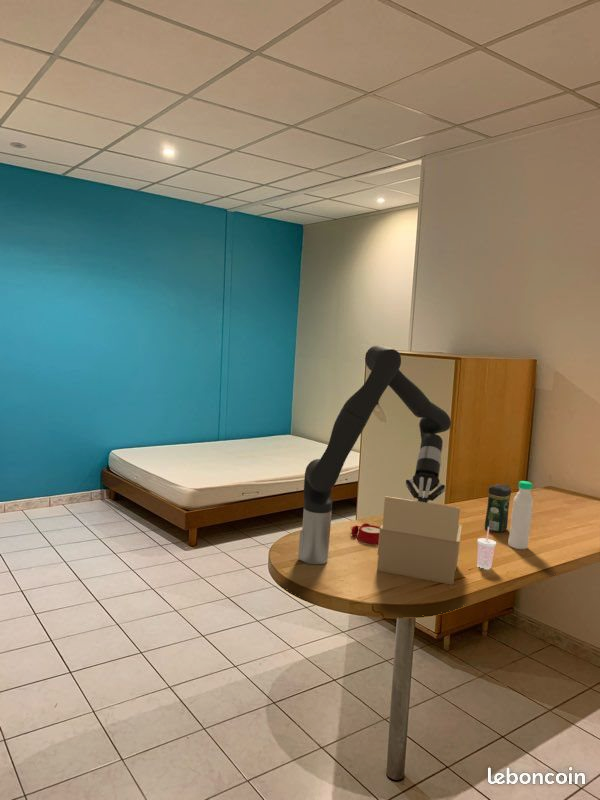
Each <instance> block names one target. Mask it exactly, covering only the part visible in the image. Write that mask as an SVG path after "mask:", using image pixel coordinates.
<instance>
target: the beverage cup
mask: <svg viewBox="0 0 600 800" xmlns="http://www.w3.org/2000/svg"><path fill="white" fill-rule="evenodd" d="M486 531H487V532H486V537H484V538H483V537H481V538H480V537H479V538H477V558H476V559H477V560H476V566H477V568H479V567H480V568H479V569H481V568H484V569H483V570H491V569H492V563H493V559H494V553H495V547H496V546H497V541H495V540H493V539H491V538H489V533H490V530H489V527H488V529H486ZM490 568H491V569H490Z"/></svg>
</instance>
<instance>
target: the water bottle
mask: <svg viewBox="0 0 600 800" xmlns="http://www.w3.org/2000/svg"><path fill="white" fill-rule="evenodd" d="M532 489H533V483H532V482H530V481H526V480H520V481H518V492H516V495H515V496H514V498H513V499H512V501H513V505H512V510H511V518H510V527H509V536H508V542H507V544H508V546H509V547H511V548H513V549H516V550H526V549H528V548H529V537H530V532H531V531H530V530H531V529H530V528H531V523H532V518H533V505H534V499H533V497H532V494H531V491H532Z"/></svg>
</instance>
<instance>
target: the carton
mask: <svg viewBox="0 0 600 800" xmlns="http://www.w3.org/2000/svg"><path fill="white" fill-rule="evenodd" d="M379 527H380V532H379V543H378V544H377V554H376V555H377V556H378V557H377V565H376V566H377V567H376V571H378V572H383V573H388V574H393V575H399V576H403V577H408V578H415V579H419V578H420V579H419V580H424V579H425V581H430V580H431V581H432V582H435V583H441V584H447V585H452V586H453V585H454V582H455V575H456V570H457V568H458V561H459V555H460V546H461V545H460V544H461V539H462V538H461V537H462V529H463V525H462V524H459V523H458V531H457V541H456V542H455V541H449V540H443V539H437V538H431V537H426V536H420V535H414V534H408V533H402V532H396V531H390V530H385V529H382V527H383V523H382V524H381V526H379ZM431 581H430V582H431Z"/></svg>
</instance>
